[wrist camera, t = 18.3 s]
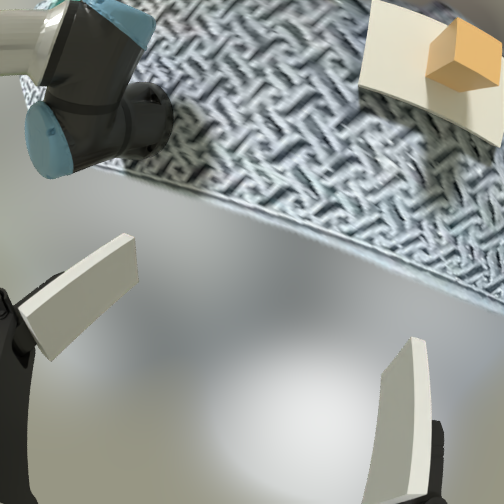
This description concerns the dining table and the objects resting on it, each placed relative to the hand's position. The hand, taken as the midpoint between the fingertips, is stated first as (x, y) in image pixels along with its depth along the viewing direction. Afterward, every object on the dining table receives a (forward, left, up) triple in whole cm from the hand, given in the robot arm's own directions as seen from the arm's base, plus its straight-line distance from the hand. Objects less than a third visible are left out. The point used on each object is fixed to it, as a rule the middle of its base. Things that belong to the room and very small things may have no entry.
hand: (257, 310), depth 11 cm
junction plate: (+12, +20, -32) cm, 39 cm away
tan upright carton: (+12, +20, -29) cm, 37 cm away
